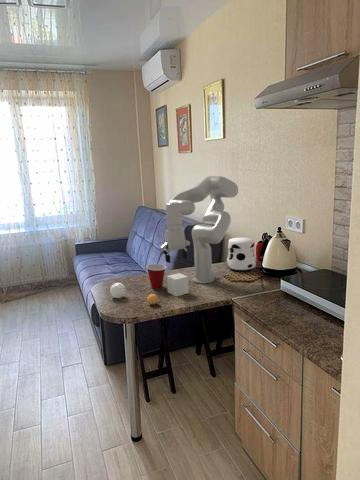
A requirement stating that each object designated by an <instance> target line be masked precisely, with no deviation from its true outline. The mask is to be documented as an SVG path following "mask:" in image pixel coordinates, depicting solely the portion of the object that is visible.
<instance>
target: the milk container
mask: <svg viewBox="0 0 360 480" xmlns="http://www.w3.org/2000/svg"><path fill="white" fill-rule="evenodd" d="M227 246H228V247H227V248H228V250H227V251H228V253H227V254H228V255H227V258H226V263H227V264H226V265H227V268H229V269H230V270H232V271H237V272H239V271H240V272H247V271H251V270H253V269H255V267H256V262H257V261H256V260H257V259H256V255H255V240H254V239H253V238H250V237H233V238H230V239H228V245H227Z"/></svg>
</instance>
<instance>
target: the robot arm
mask: <svg viewBox="0 0 360 480" xmlns="http://www.w3.org/2000/svg"><path fill="white" fill-rule="evenodd" d="M238 193H239V187H238V184H236V182H234V181H232V180H230V179H229V178H227V177H225V176H222V175H221V176H220V175H219V176H218V175H217V176H216V175H214V176H213V175H212V176H210V175H209V176H206V177H204V178H203V179H202V180H200V182H198V183H197V184H196V185H194V186H193V187H192V188H189V189H187V190H184V191H182V192H179V193H178V194H175V196H174V197H173V198H171V199H170V200H169V202H167V203H166V204H165V216H166V230H165V233H164V243H163V244H162V245H161V246H160V247H159V249H160V250H161V253H162V254H164V255H165V256H164V257H165V262H166V263H168V264H169V263H170V264H171V255H170V254H171V252H172V251H177V250H181V259H184V260H187V255H188V254H187V252H188V249H189V248H190V244H191V241H190V240H187V239H186V236H185V231H184V228H183V227H185V224H184V223H183V217H182V216H191V215H193V214H194V212H195V210H196V205H195V203H200V202H203V201H205V199H207V198H208V197H209V196H210V203H209V205H208V207H207V210H206V211H205V212H204V215H203V216H202V219H201V220H202V224H197V225H194V226H193V227H192V229H191V238H192V243H193V251H194V253H193V258H194V260H193V261H194V263H193V264H194V276H193V277H192V278H191V280H192V282H193V283H196V284H202V285H203V284H210V283H211V284H212V283H213V282H214V281H215V279H216V278H215V277H214V276H216V275H219V271H218V270H216V271H214V270H213V269H212V266H213V265H212V263H213V262H212V247H211V246H210V244H212V245H213V244H214V245H215V244H216V245H217V244H219V243H221V242H222V240H223V238H224V237H225V235H226V233H227V231H228V229H229V227H230V224H231V219H232V218H231V215H230V213H229V212H227V211H225V204H224V202H223V200H222V198H224V199H225V198H227V199H229V198H230V199H232V198H235V197H236V196H237V195H238Z"/></svg>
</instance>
